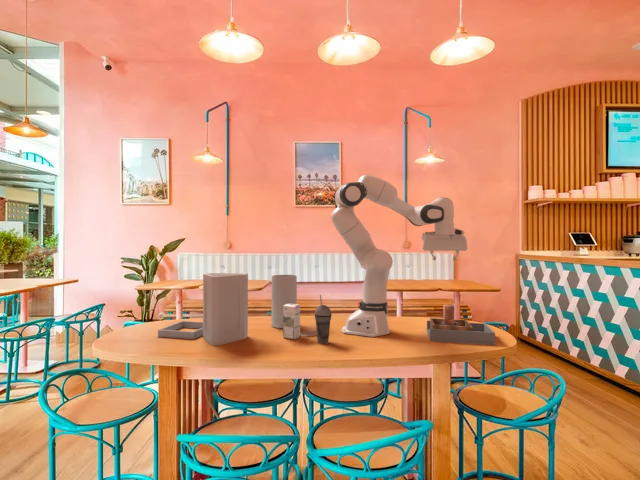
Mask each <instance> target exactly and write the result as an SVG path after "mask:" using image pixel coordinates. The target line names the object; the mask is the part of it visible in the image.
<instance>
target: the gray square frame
mask: <svg viewBox="0 0 640 480" xmlns="http://www.w3.org/2000/svg"><path fill="white" fill-rule="evenodd" d="M182 328H185V329H186V328H188V329H196V330H194V331H186V330H180V329H182ZM157 337H159V338H170V339H172V338H173V339H183V340H184V339H186V340H195V339H197V338H199V337H203V321H192V320H191V321H189V320H181V321H179V322H176V323H173V324H170V325H168V326H165V327H162V328H159V329H158V330H157Z"/></svg>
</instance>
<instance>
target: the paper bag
mask: <svg viewBox="0 0 640 480" xmlns="http://www.w3.org/2000/svg"><path fill="white" fill-rule="evenodd" d="M202 278H203V279H202V285H203V286H202V322H203V335H202V339H204V340H205V341H206V342H207V343H208V344H209V345H211V346H222V345H226V344H230V343H233V342H238V341H242V340H245V339H247V338H248V337H249V336H248V335H249V334H248V332H249V330H248V328H249V327H248V326H249V324H248V321H249V293H248V292H249V273H243V272H241V273H239V272H206V273H205V272H204V273H203V274H202Z"/></svg>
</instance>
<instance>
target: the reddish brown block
mask: <svg viewBox="0 0 640 480" xmlns="http://www.w3.org/2000/svg"><path fill="white" fill-rule="evenodd" d="M442 306H443V308H442V309H443V311H442V312H443V318H442V319H443V323H444V325H454V319H455V306H454V305H453V304H443V305H442Z"/></svg>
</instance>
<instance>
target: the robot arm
mask: <svg viewBox="0 0 640 480" xmlns="http://www.w3.org/2000/svg"><path fill="white" fill-rule="evenodd" d="M398 194H399V193H398V190H397V188H396V187H395V186H394V185H393V184H392V183H390V182H388V181H386V180H384V179H382V178H380V177H377V176H374V175H370V174H363V175H362V176H360V177H359V178H358V180H357V181H354V182H347V183H343V184H342V185H340V186H339V187H338V188H337V189H336V190H335V193H334V196H333V198H334V206H335V209H334V210H333V211H332V212H331V214H330V219H331V223H332V224H333V226H334V227H335V229H336V230H337V232H338V234H340V236H341V238H342V239H343V240H344V241H345V243H346V244H347V245H348V247H349V248H350V249H351V251H352V253H353V255H354V256H355V258H356V260H357V261H358V263H359V265H360V266H361V267H362V268H363V269H364V270H365V277H364V280H363V284H362V300H359V301H358V307H357V308H358V309H356V311H354V312H353V313H351V314H350V315H349V316H348V317H347V319H346V323H345V325H344V326H342V328H341V333H342V334H348V335H353V336H354V335H356V336H363V337H371V338H373V337H378V336H384V335H385V336H387V335H389V334H390V333H391V330H390V327H389V321H388V312H389V309H388V307H389V306H388V305H389V304H388V301H387V291H388V289H387V288H388V279H389V274H390V270H391V268H392V267H393V256H392V255H391V254H390V253H389V252H388V251H386V250H385V249H380V248H377V247H376V245H375V243H374V242H373V240H372V237H371V234H370V233H369V231H368V230H367V228H366V227H365V226H364V224H363V223H362V222H361V221H360V219H359V218H358V217H357V215H356V214H355V211H354V207H356V206H358V205H359V204H361V202H362V201H363V200H364V199H366V200H369V201H371V202H372V203H375V204H377V205H380V206H382V207H385V208H388V209H391V210H392V211H394V212H396V213H398V214H400V215H401V216H403V217H404V218H406V219H407V221H408V222H410V224H411V225H413V226H414V227H415V226H416V227H422V226H428V225H432V224H434V231H424V232H423V233H421V234H422V235H421V240H422V250H423V251H426V252H429V254H430V255H431V258H432V261H436V260H437V256H436V255H435V256H434V251H436V252H437V251H439V252H441V251H443V252H444V251H445V252H446V251H447V252H448V251H451V252H455V256H452V261H457V260H458V259H457V258H458V256H459V254H460V252H464V251H465V252H466V251H467V250H468V242H467V241H468V240H467V237H466V236H465V230H463V229H460V228H455V223H454V219H455V209H454V208H455V207H454V202H453V200H452V199H450V198H449V197H442V196H441V197H436V199H434V200H433V201H431V202H429V203H426V204H423V205H419V206H417V205H413V204H412V205H411V204H410V203H408V202H406V201H405V200H403V199H401V198H400V197H398Z"/></svg>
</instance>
